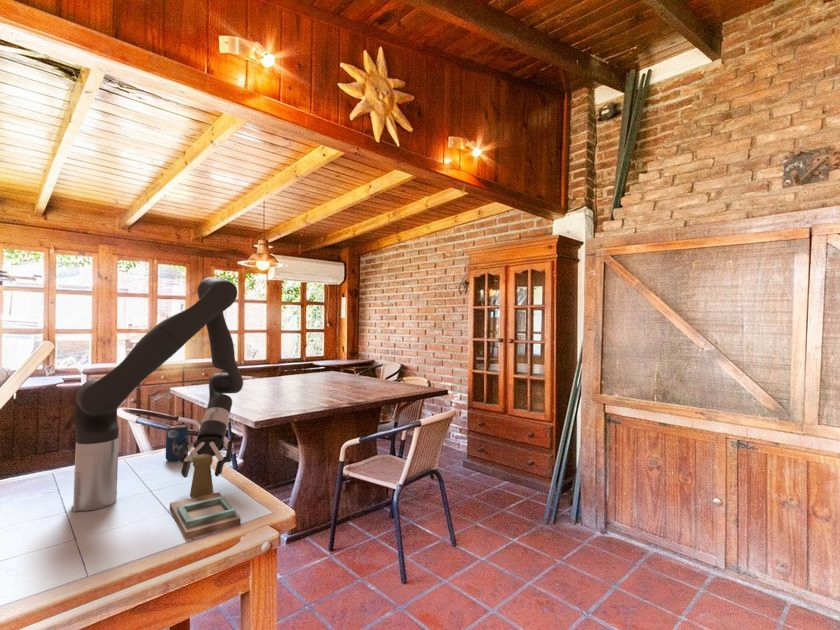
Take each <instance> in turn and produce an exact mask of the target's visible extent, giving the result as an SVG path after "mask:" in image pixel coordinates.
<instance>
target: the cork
mask: <svg viewBox="0 0 840 630" xmlns="http://www.w3.org/2000/svg"><path fill="white" fill-rule="evenodd" d="M212 464H213V457H212V456H211V455H210V454H200V455H197V456H195V457H194V458H193V462H192V466H193V469H194V470H193V474H192V481H191V487H190V494H189V496H190V497H191V498H195V497H199V496H203V495H208V494H211V493H212V492H213V493H214V486H213V478H212V477H213V476H212V469H211V466H212Z"/></svg>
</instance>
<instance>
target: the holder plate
mask: <svg viewBox="0 0 840 630" xmlns="http://www.w3.org/2000/svg"><path fill="white" fill-rule="evenodd" d="M169 510H170V512H171V514H172V516H173V518H174V520H175V522H176V523H177V526H178V527H179V529H180V532H181V533H182V535H183V537H184V538H185V540H189V539H192V538H196V537H200V536H202V535H206V534H210V533H214V532H217V531H222V530H225V529H228V527H229V528H233V527H235V526H239V524H240V525H241V523H242V522H241V520H242V518H241V517H240V515H239V514H238V513H237V512H236V509H235V508H234V507H233V506H232V504H231V503H230V502H229V501H228V500H227V499H226V497H225V496H224V495H222V494H221V493H220V492H219V491H217V492H213V493H212V494H208V495H203V496H199V497H191V498H187V499H182V500H177V501H172V502H170V503H169Z"/></svg>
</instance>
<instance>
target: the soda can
mask: <svg viewBox="0 0 840 630" xmlns="http://www.w3.org/2000/svg"><path fill="white" fill-rule="evenodd" d="M189 430H190V429H189V427H188V425H187V424H185V423H178V424H172V425H169V426H168V427H167V430H166V432H165V433H166V434H165V460H167V462H168V463H180V462H179V460H178V457H179V454H180V452H181V449H182V446H183V444H184V442H185V441H188V442H189V434H190V433H189ZM188 455H189V453H188V454H187V456H188Z"/></svg>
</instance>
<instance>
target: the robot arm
mask: <svg viewBox="0 0 840 630" xmlns="http://www.w3.org/2000/svg"><path fill="white" fill-rule="evenodd" d="M237 288H238V287H237V286H236V285H235V284H234V282H232V281H229V280H227V279H223V278H218V277H212V276H211V277H205V278H204V279H202V280H200V282H199V284H198V287H197V291H196V292H197V297H198V300H197V301H196V302H195V303H194V304H192V305H191V306H190V307H188V308H185V309H184V310H182V311H180V312H177V313H175V314H174V315H171V316H170V317H167V318H165V319H164V320H162V321H160V322H159V323H157V325H155V326H153V328H151V329H150V330H149V331H147V333H145V334H144V335H143V336H142V337H141V339H139V340H138V342H137V343H136V344H135V345H134V346H133V348H132V349H131V350H130V352H128V354H127V355H126V357H125V358H124V359H123V360H122V361H121V362H120V363H119V364H118V365H117V366H116V367H114V368H113V369H112V370H110V371H109V372H108V373H107V374H105V375H103V376H102V377H101V378H94V379H93V378H91V379H90V380H87V381H85V382H84V383H83V384H82V385H81V386H79V388H78V389H77V391H76V394H75V401H74V402H75V405H74V406H75V408H74V409H75V410H74V430H75V431H74V432H75V453H74V455H75V456H74V457H75V458H74V476H73V477H74V479H73V502H72V503H73V505H72V506H73V507H72V508H73V512H80V511H81V512H86V511H93V510H99V509H103V508H106V507H108V506H111V505H112V504H114V503H116V502H117V499H118V466H119V442H120V441H119V439H120V438H119V435H120V433H119V432H120V428H119V423H118V408H119V406H120V405H122V403H124V401H125V400H127V398H128V397H129V396H130V394H131V393H132V392H133V391H134V390H135V389H136V388H137V387H138V386H139V385H140V384H141V383H142V382H143V381H144V380H145V379H146V378H148V376H150V375H151V374H152V373H153V372H155V371H156V370H157V369H158V368H160V367H161V366H162V365H163V364H164V363H165V362H167V361H168V360H169V359H171V358H172V357H173V355H175V354H176V353H177V352H178V351H180V350H181V348H183V346H184V345H185V344H186V343H188V341H190V340H191V339H192V338H193V337H194V336H195V335H197V333H199V332H200V331H201V330H202V329H203V328H204V327H206V330H207V333H208V340H209V346H210V354H211V355H210V356H211V364H212V366H213V367H214V368H215V369H219V370H223V371H225V372H216V373H213V374H212V375H211V376H210V378H209V379H208V390H209V392H208V393H209V396H208V397H209V398H208V404H207V406H206V409H205V413H204V415H203V417H202V421H201V424H200V427H199V429H198V430H199V431H198V434H197V436H196V437H197V438H196V440H195V442H189V440H188V441H185V442H184V444H183V446H182V449H181V452H180V454H179V457H178V460H179V462H178V463H179V464H181V465H182V467H181V471H180V473H181V476H182V477H183V478H187V477H188V475H189V473H190V470H191V469H190V468H191V465H192V464H193V458H194V457H195V456H197V455H200V454H210V455H211V456H212V458H213V457H215V458H216V460H217V462H216V466H215V470H214V476H215V477H219V476H220V475H221V474H223V473H222V472H223V469H224V465H225V464H226V463H231V462H232V460H233V453H234V447H235V445H234V441H233V440H232V439H231V440H228V441H225V437H226V434H227V429H228V426H229V421H230V414H231V409H232V406H233V398H232V397H231V396H229V394H237V393H239V392H241V390H242V389H243V386H244V380H243V376H242V374H241V371H240V369H239V367H238V364H237V362H236V355H235V348H234V347H235V346H234V341H233V338H232V334H231V333H230V330H229V327H228V325H227V322H226V319H225V314H224V312H225V311H226V310H227V309H228V308H230V307H231V306H232V305H233V304H234V303H235V301H236V299H237V297H238V289H237ZM224 447H225V449H226V454H225V456H223V455H222V453H221V450H222V449H223V448H224ZM192 449H193V450H192ZM190 451H191V452H190ZM189 452H190V453H189ZM187 454H188V456H187Z"/></svg>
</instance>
